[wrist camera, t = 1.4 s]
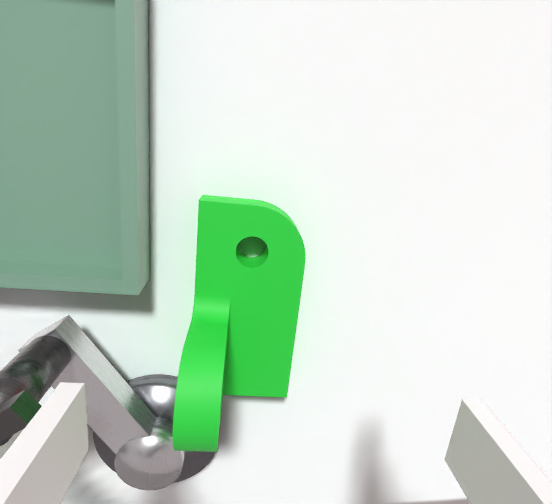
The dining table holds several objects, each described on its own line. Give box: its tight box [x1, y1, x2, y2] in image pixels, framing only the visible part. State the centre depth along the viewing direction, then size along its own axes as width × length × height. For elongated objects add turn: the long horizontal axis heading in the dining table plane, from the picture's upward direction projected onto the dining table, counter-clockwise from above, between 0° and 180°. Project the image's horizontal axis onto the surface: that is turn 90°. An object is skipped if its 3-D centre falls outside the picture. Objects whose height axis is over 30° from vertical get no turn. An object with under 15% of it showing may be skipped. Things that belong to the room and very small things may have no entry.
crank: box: [0, 315, 185, 490], centre depth 19 cm, size 12×5×8 cm, turn 29°
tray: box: [0, 0, 150, 295], centre depth 18 cm, size 11×17×2 cm, turn 175°
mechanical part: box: [173, 195, 305, 452], centre depth 20 cm, size 12×6×8 cm, turn 174°
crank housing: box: [93, 375, 215, 483], centre depth 25 cm, size 8×8×1 cm
